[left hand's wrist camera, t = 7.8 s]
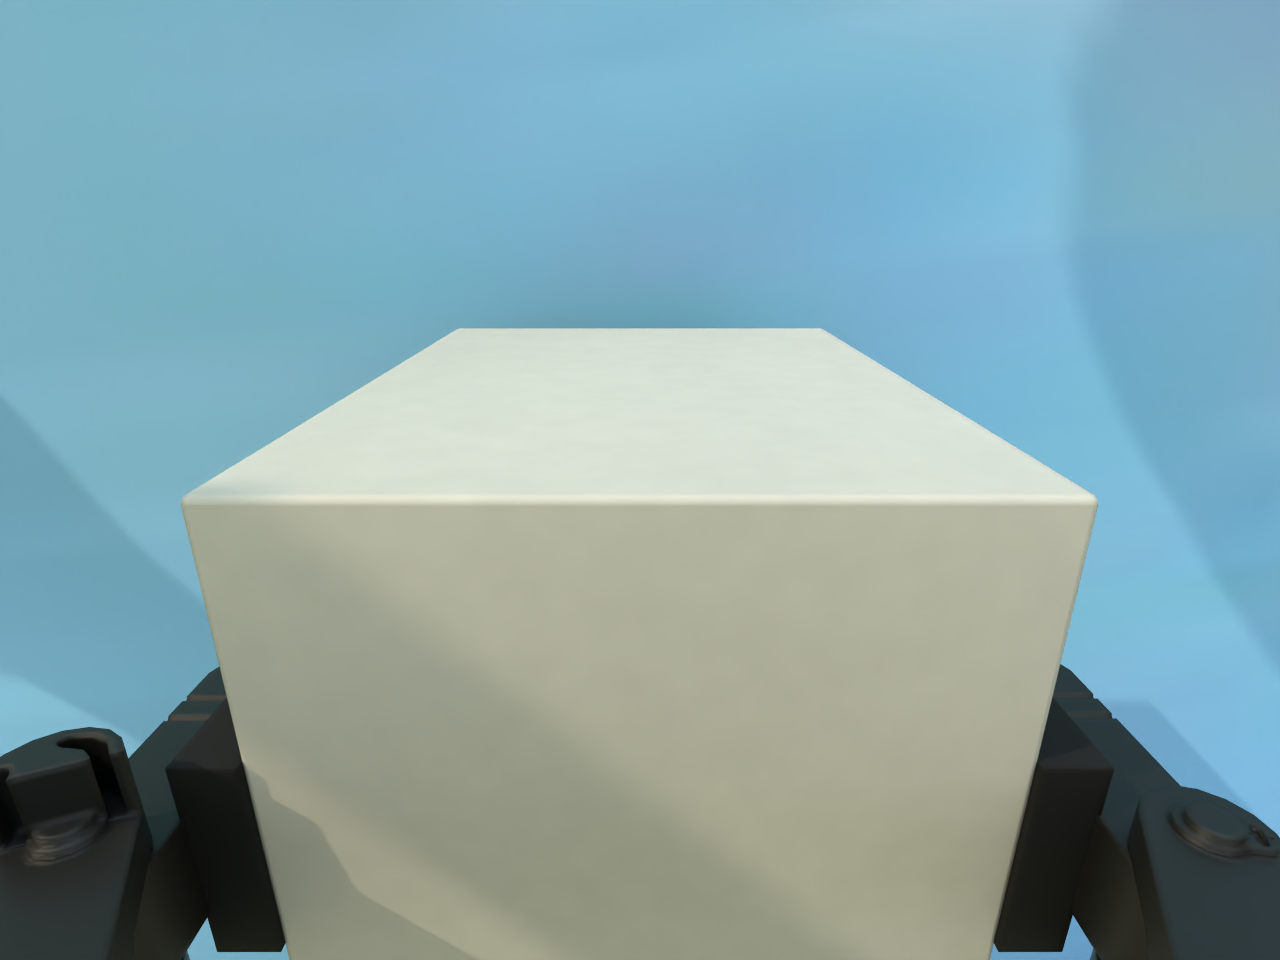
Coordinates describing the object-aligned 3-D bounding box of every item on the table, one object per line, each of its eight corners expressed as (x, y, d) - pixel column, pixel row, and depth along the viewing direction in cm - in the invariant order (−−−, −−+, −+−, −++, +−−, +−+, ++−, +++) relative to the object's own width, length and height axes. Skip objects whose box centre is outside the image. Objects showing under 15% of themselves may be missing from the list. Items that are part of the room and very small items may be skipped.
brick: (823, 328, 17) (1105, 496, 7) (795, 650, 20) (958, 1105, 10) (456, 328, 17) (174, 496, 7) (483, 651, 20) (320, 1105, 10)
